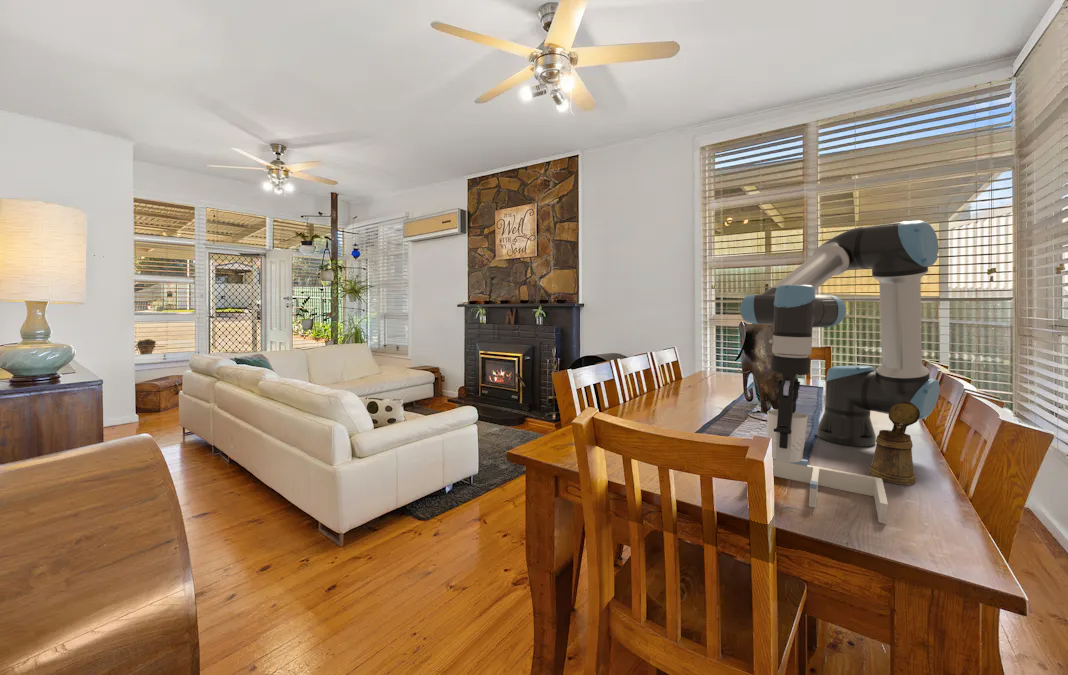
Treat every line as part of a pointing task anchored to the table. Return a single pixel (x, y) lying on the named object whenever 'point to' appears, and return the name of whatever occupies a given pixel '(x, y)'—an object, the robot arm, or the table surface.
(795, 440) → the white cup
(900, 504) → the table surface
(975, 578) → the table surface
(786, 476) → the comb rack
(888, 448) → the wooden mug
